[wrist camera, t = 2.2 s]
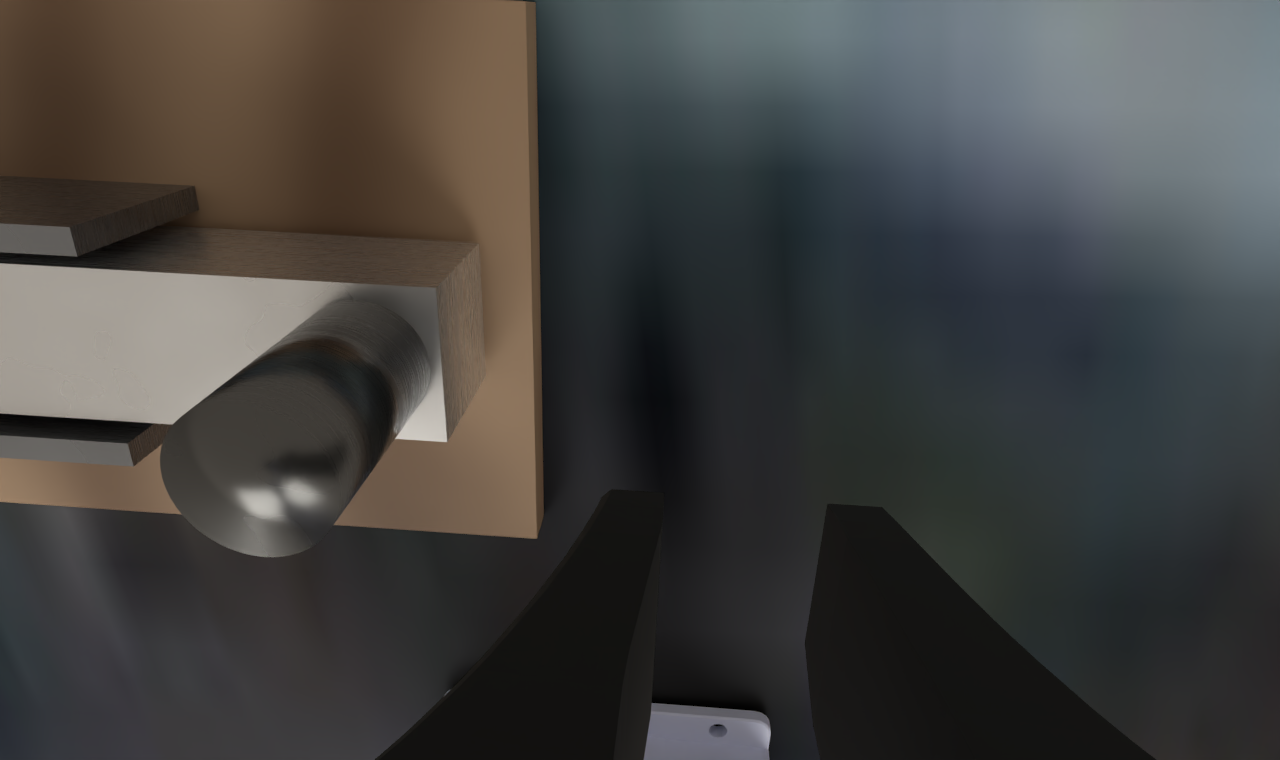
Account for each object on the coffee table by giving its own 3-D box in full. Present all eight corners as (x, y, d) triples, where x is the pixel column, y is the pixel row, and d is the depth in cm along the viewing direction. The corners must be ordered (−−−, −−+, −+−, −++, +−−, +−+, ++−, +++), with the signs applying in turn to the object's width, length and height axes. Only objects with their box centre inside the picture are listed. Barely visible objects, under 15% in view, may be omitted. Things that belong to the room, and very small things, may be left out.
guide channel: (194, 185, 16) (69, 227, 13) (234, 386, 18) (133, 466, 15) (-83, 171, 17) (-275, 208, 13) (-16, 370, 18) (-168, 446, 15)
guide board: (536, 2, 15) (525, 1, 14) (543, 515, 20) (536, 539, 19) (-429, -38, 16) (-496, -41, 15) (-193, 465, 21) (-233, 485, 20)
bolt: (479, 242, 16) (339, 388, 10) (485, 375, 17) (365, 581, 11) (-84, 212, 17) (-566, 331, 10) (-38, 344, 18) (-441, 523, 12)
